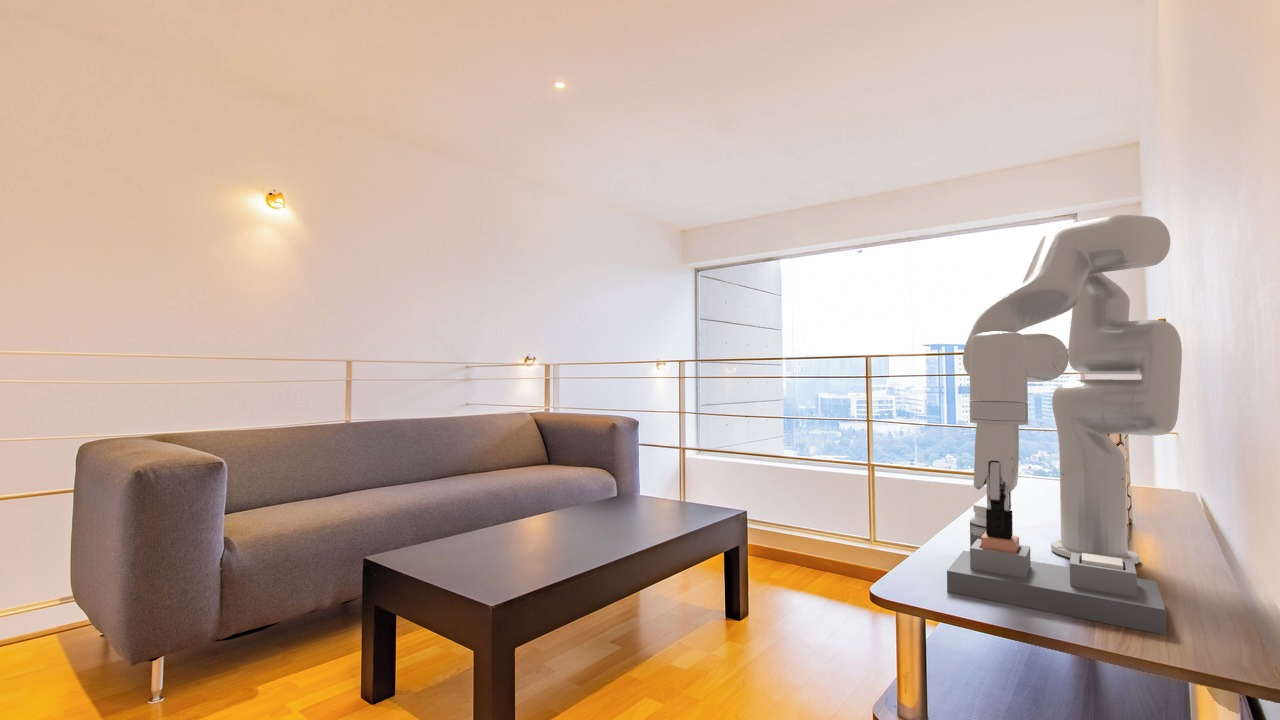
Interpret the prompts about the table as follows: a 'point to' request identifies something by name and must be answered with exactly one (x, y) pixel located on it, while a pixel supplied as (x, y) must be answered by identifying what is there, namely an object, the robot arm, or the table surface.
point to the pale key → (1102, 561)
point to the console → (1060, 587)
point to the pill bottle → (978, 522)
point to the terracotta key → (1000, 543)
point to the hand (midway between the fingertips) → (999, 536)
